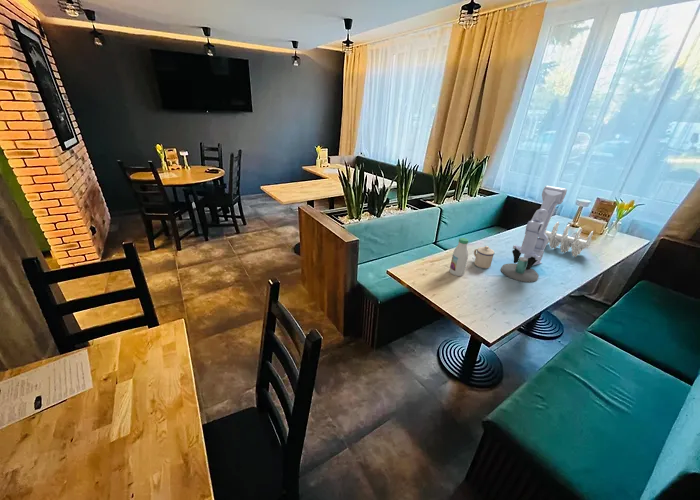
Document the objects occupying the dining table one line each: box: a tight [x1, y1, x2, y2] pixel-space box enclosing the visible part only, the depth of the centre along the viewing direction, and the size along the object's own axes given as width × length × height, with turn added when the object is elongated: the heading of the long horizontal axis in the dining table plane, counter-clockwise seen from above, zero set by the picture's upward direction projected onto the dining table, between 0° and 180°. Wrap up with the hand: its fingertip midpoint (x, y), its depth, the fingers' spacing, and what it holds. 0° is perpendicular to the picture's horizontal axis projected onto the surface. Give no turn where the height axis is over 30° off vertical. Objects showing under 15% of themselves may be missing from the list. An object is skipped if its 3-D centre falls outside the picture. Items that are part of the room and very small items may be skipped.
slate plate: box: [500, 263, 539, 283], centre depth 159 cm, size 18×18×1 cm
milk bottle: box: [448, 237, 469, 277], centre depth 154 cm, size 8×8×20 cm
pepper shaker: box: [515, 256, 528, 274], centre depth 157 cm, size 4×4×8 cm
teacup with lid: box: [473, 245, 495, 269], centre depth 165 cm, size 12×9×12 cm
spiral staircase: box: [538, 221, 594, 258], centre depth 181 cm, size 18×18×25 cm
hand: (521, 265), depth 157 cm, fingers open, 7 cm apart
